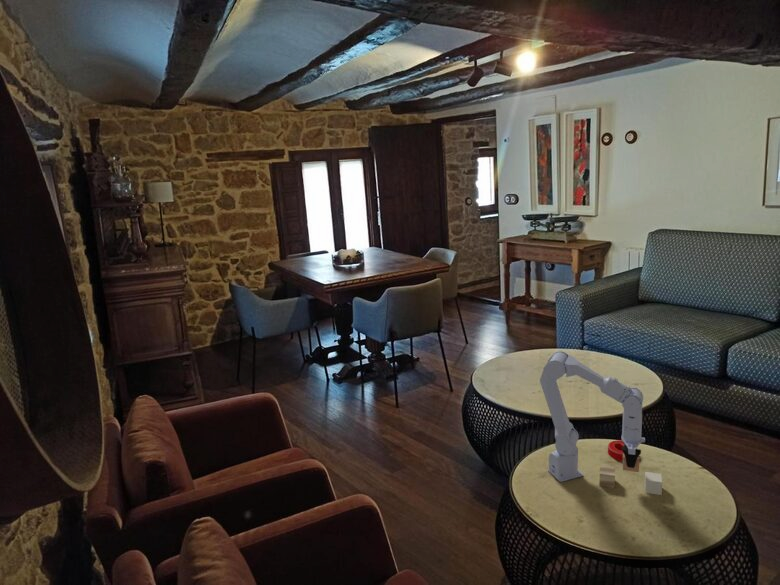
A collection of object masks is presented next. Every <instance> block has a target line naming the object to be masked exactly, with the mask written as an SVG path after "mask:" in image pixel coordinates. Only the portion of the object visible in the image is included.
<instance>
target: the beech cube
mask: <svg viewBox="0 0 780 585" xmlns="http://www.w3.org/2000/svg"><path fill="white" fill-rule="evenodd" d="M598 481H599V482H598V484H599V485H598V486H600V487H605V486H607V487H606V488H611V487H615V486H616V467H612V466H605V465H599V480H598Z"/></svg>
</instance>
